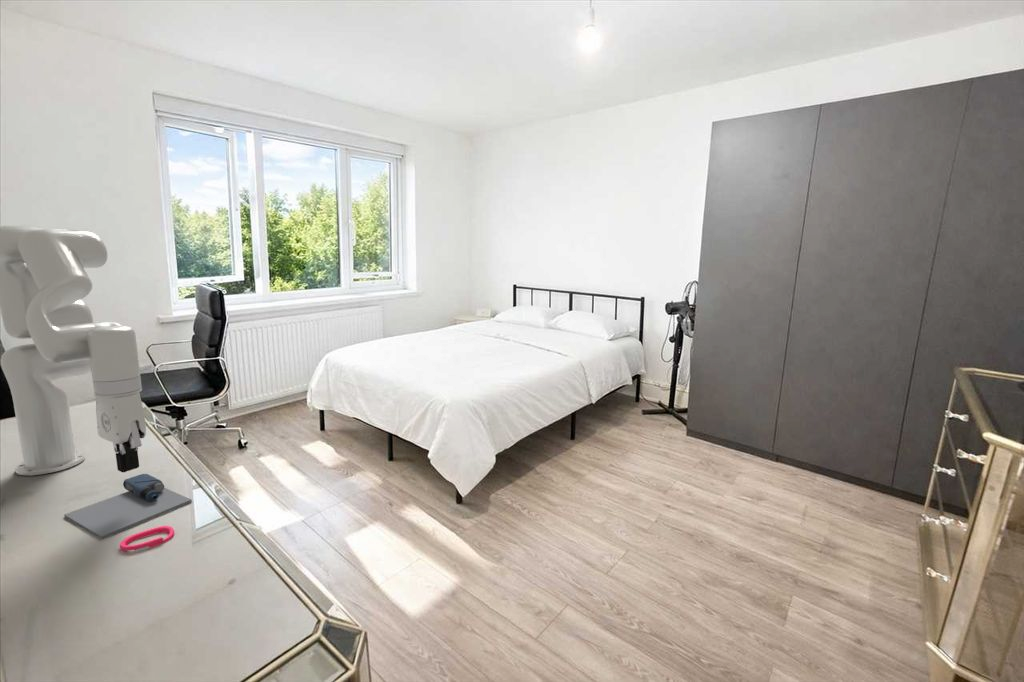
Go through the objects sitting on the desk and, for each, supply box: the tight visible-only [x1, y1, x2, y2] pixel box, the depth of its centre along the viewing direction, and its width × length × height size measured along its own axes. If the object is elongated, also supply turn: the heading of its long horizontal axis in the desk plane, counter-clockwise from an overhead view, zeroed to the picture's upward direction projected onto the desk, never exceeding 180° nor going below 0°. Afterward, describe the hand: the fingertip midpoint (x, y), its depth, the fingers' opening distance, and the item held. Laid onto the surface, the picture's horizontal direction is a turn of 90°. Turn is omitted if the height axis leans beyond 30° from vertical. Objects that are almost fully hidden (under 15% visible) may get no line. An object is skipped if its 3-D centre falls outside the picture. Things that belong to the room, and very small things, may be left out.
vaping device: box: [122, 473, 165, 502], centre depth 104 cm, size 3×5×12 cm
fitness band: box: [119, 525, 175, 553], centre depth 88 cm, size 8×6×2 cm
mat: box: [63, 487, 193, 540], centre depth 98 cm, size 16×16×1 cm
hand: (128, 469), depth 98 cm, fingers closed
